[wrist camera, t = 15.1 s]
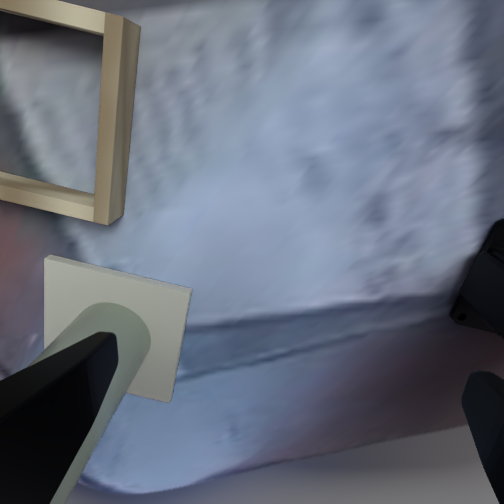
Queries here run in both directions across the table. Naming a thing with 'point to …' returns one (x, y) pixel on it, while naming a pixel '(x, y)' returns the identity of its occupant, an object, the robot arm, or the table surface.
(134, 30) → the birch collar
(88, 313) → the ceramic canister
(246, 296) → the table surface
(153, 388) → the cream square tile
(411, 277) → the table surface
